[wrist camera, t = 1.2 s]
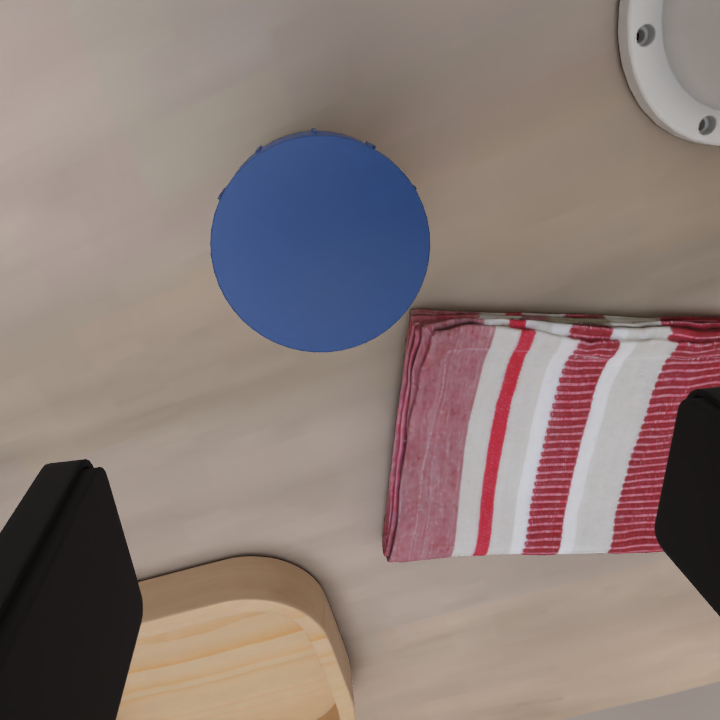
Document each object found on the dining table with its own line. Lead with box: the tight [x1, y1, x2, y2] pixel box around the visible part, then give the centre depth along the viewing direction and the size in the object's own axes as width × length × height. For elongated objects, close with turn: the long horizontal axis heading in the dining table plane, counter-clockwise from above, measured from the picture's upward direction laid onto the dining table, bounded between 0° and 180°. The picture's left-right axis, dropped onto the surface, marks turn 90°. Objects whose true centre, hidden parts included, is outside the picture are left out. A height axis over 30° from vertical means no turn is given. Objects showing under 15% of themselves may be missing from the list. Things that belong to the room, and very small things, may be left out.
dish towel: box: [382, 309, 720, 563], centre depth 35 cm, size 17×23×3 cm
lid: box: [210, 128, 430, 352], centre depth 19 cm, size 7×7×2 cm
